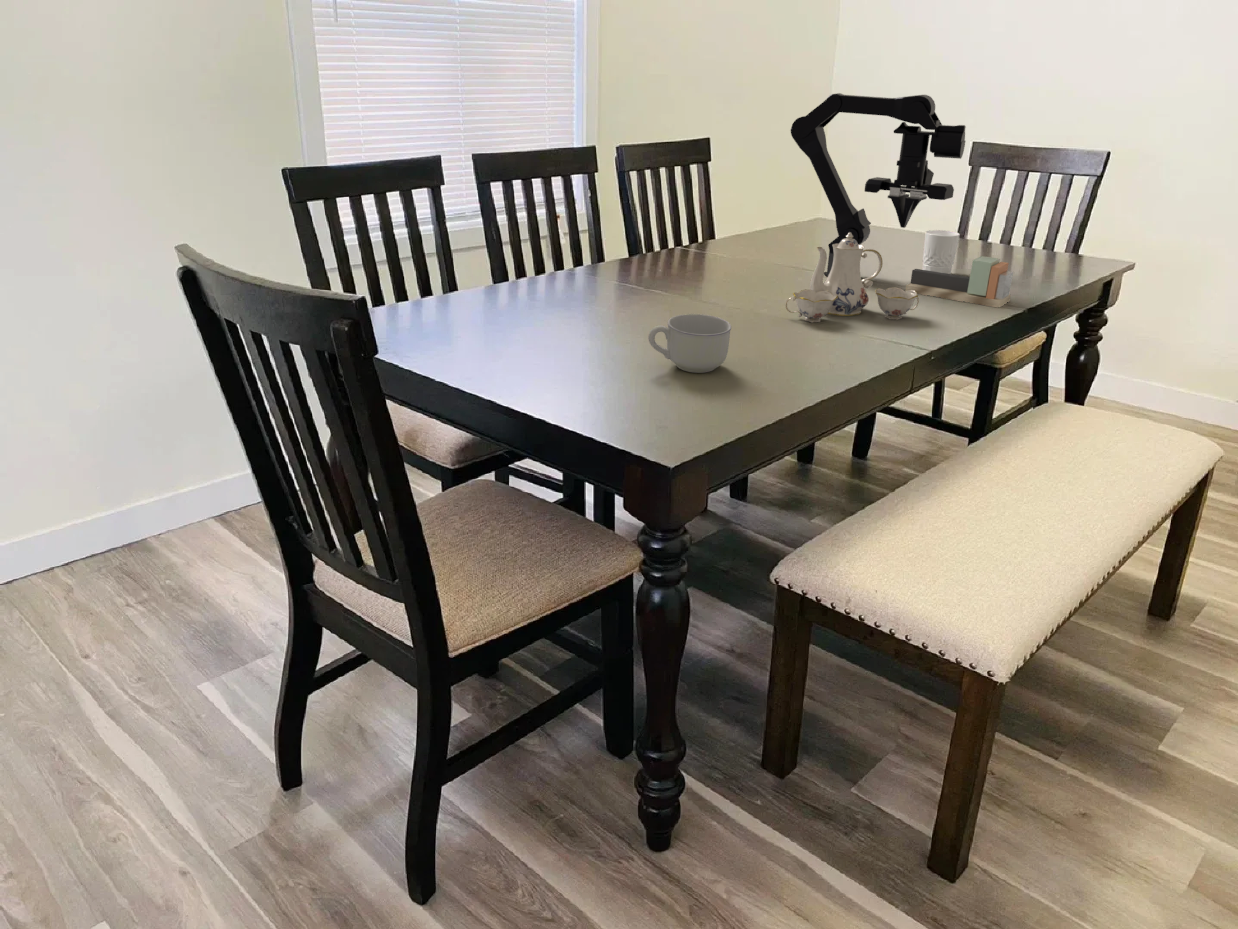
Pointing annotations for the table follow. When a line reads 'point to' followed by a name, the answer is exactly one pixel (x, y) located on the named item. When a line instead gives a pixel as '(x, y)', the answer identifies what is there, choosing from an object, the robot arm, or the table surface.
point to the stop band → (995, 278)
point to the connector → (1004, 285)
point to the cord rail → (940, 280)
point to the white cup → (940, 250)
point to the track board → (957, 295)
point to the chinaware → (848, 287)
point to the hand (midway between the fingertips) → (903, 227)
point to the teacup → (694, 341)
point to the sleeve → (981, 275)
